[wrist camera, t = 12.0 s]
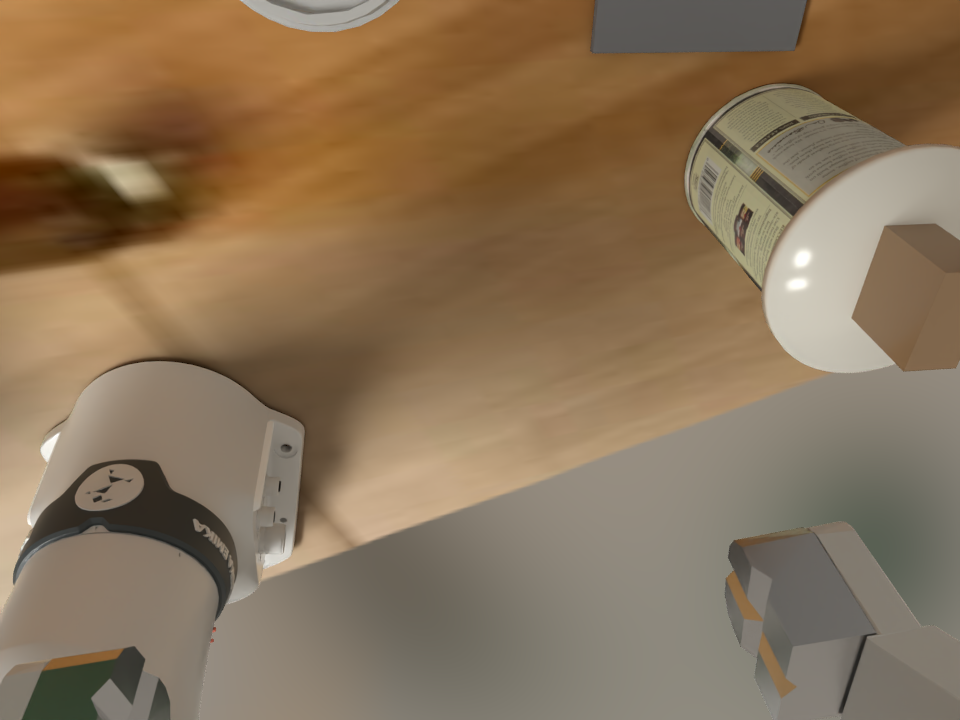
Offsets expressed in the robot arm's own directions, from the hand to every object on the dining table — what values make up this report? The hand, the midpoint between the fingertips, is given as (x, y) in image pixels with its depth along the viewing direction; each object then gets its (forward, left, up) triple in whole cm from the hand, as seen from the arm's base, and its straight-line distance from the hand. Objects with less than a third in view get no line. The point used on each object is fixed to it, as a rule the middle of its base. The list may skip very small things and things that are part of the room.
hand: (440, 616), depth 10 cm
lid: (-8, -23, -23) cm, 33 cm away
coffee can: (-8, -23, -37) cm, 45 cm away
